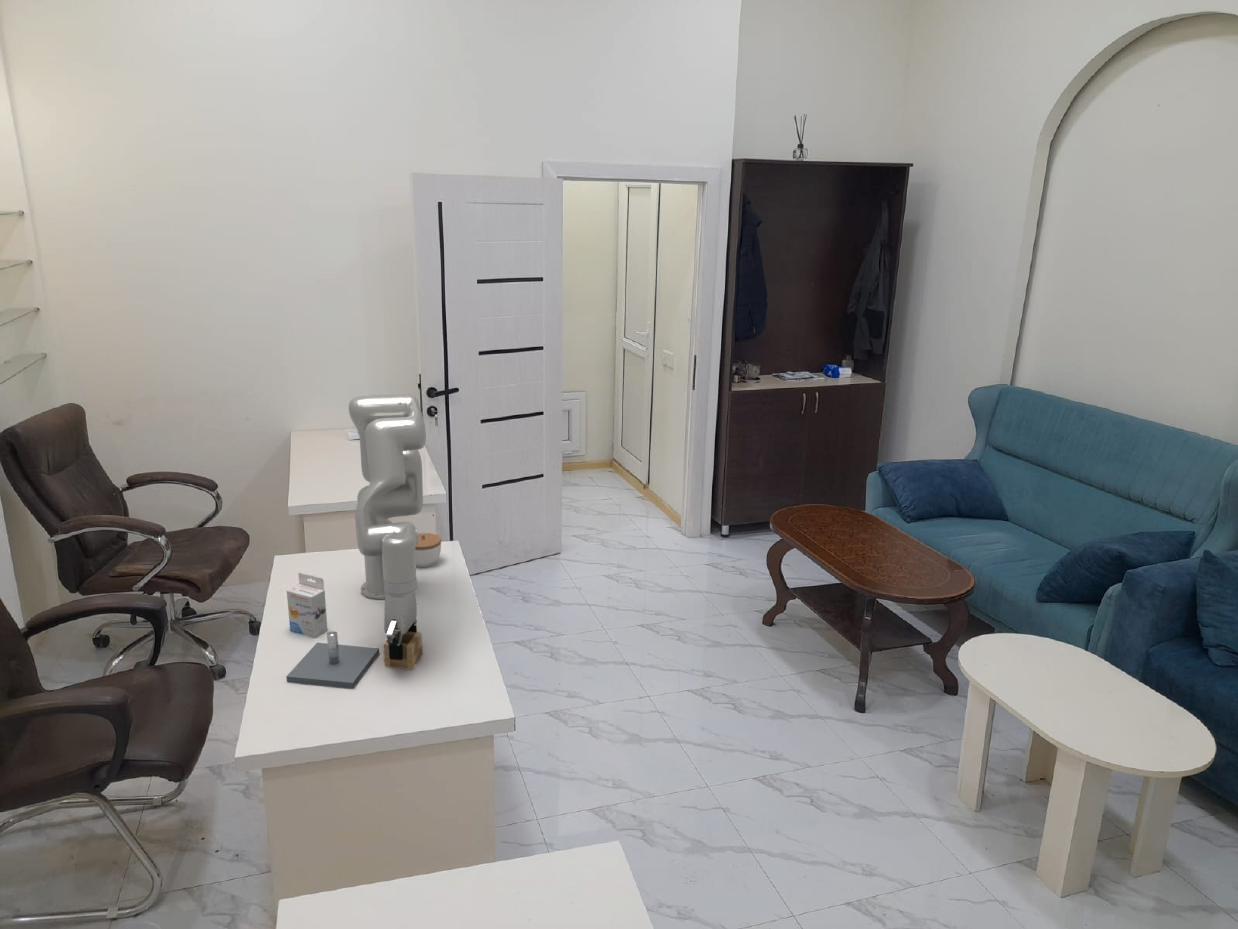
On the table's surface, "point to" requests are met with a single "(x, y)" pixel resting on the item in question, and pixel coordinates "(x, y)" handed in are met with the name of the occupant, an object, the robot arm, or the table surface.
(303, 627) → the ink box
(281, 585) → the table surface
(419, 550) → the lidded jar
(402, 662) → the oak frame
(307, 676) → the slate board
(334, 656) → the metal post
